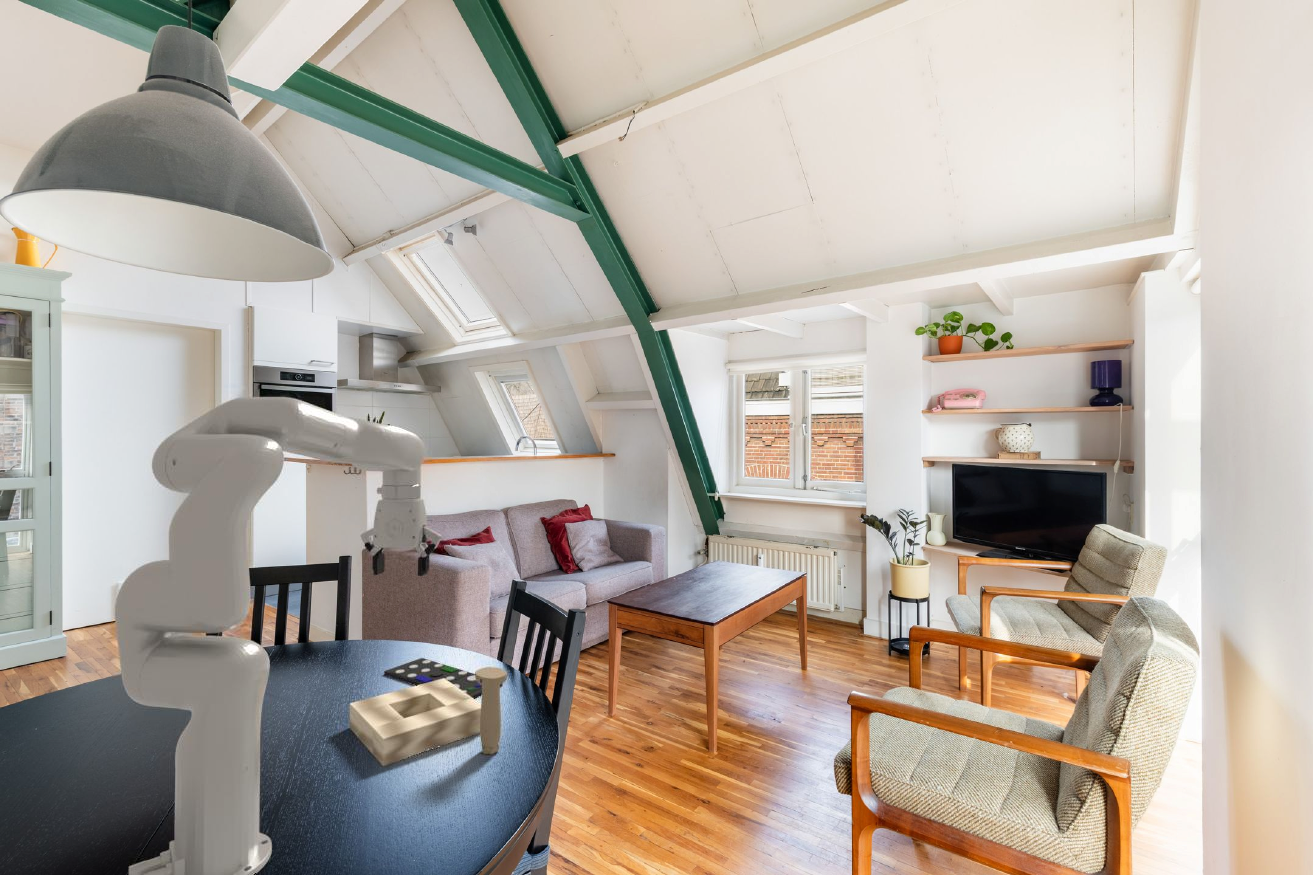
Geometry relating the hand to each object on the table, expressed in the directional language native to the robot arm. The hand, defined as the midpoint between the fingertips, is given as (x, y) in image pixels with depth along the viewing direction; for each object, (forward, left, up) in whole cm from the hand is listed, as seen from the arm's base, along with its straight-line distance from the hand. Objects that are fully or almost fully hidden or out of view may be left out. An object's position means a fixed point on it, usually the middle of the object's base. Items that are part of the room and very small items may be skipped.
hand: (400, 574), depth 128 cm
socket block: (+1, -6, -31) cm, 32 cm away
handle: (+8, -24, -31) cm, 40 cm away
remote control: (+16, +15, -32) cm, 39 cm away
